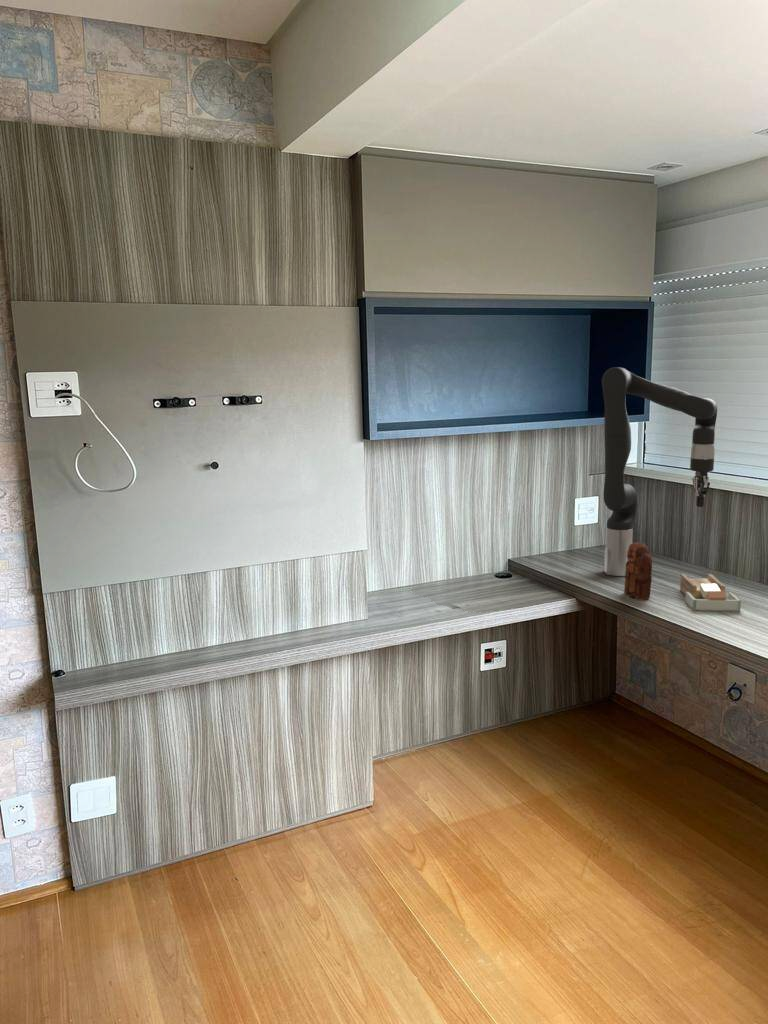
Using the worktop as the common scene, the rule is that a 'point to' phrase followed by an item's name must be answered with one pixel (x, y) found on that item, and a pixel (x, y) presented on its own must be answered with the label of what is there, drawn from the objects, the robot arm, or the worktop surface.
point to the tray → (713, 604)
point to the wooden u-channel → (697, 585)
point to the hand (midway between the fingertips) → (699, 506)
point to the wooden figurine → (638, 571)
